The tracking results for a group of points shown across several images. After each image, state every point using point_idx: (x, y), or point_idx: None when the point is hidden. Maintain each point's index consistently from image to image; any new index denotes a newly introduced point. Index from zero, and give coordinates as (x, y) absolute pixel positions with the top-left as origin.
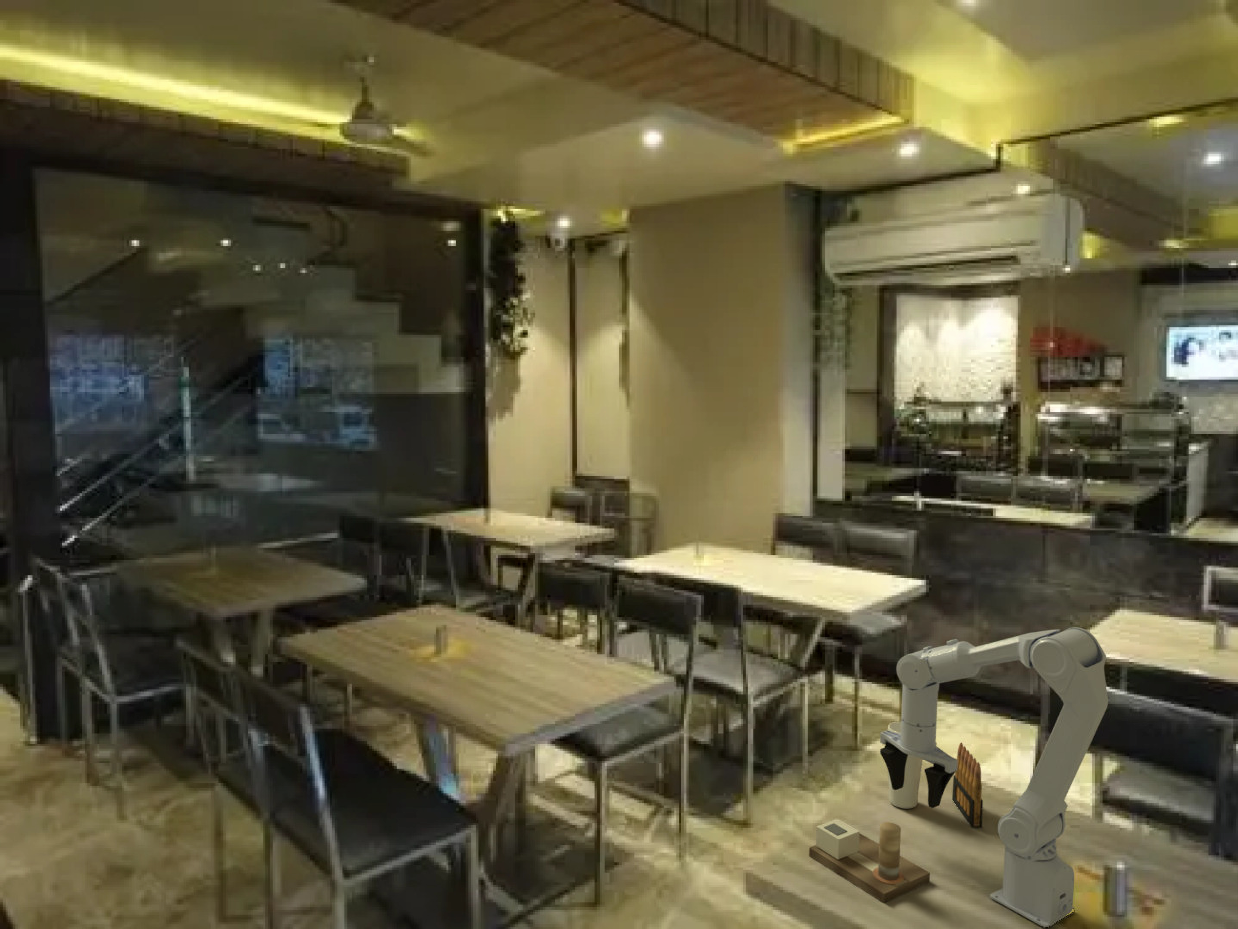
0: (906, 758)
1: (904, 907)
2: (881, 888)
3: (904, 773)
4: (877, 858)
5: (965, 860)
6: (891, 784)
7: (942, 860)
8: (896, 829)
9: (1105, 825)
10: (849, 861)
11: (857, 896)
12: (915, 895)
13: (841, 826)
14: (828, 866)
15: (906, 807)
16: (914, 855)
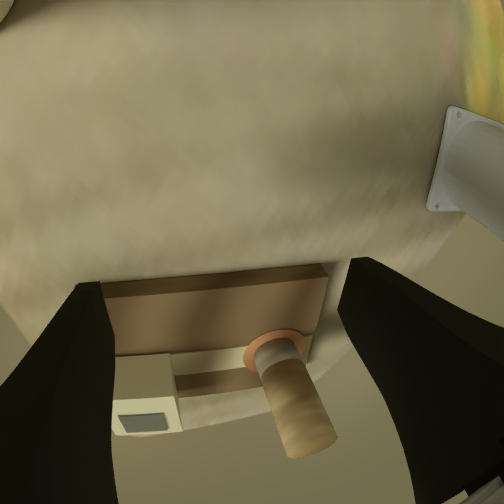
0: (41, 450)
1: (325, 347)
2: None
3: (75, 340)
4: (213, 335)
5: (331, 101)
6: None
7: (290, 156)
8: (329, 441)
9: None
10: (190, 379)
11: None
12: (322, 315)
13: (134, 410)
14: None
15: (7, 12)
16: (223, 205)
